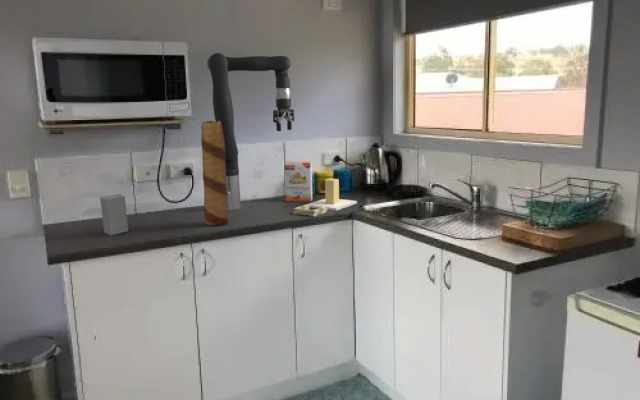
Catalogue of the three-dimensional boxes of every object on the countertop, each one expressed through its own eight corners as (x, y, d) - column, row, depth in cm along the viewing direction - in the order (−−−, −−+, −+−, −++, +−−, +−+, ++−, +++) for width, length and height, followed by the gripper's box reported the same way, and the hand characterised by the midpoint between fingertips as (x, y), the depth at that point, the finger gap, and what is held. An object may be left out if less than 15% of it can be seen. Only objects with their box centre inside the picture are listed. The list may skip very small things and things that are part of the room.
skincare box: (122, 229, 222) (119, 193, 219) (129, 232, 217) (126, 195, 214) (102, 233, 216) (98, 196, 213) (109, 236, 211) (105, 198, 208)
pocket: (313, 216, 239) (313, 211, 238) (293, 213, 245) (292, 208, 245) (327, 211, 248) (327, 206, 248) (307, 209, 255) (306, 204, 254)
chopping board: (336, 210, 250) (336, 208, 250) (306, 206, 260) (306, 204, 260) (356, 203, 266) (356, 201, 266) (327, 200, 276) (327, 197, 276)
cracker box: (285, 201, 274) (283, 162, 270) (287, 199, 280) (285, 161, 275) (311, 202, 272) (310, 162, 268) (312, 199, 278) (311, 161, 274)
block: (333, 204, 259) (333, 180, 257) (325, 203, 262) (325, 180, 260) (339, 202, 263) (338, 179, 261) (330, 201, 266) (330, 178, 264)
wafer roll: (229, 220, 235) (223, 120, 226) (228, 225, 225) (223, 121, 216) (206, 221, 233) (199, 121, 225) (204, 227, 223) (197, 122, 214)
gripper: (286, 97, 264) (287, 129, 267) (268, 98, 252) (269, 131, 256) (297, 97, 260) (298, 129, 263) (280, 97, 248) (281, 131, 251)
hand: (284, 130), depth 259 cm, fingers open, 8 cm apart
